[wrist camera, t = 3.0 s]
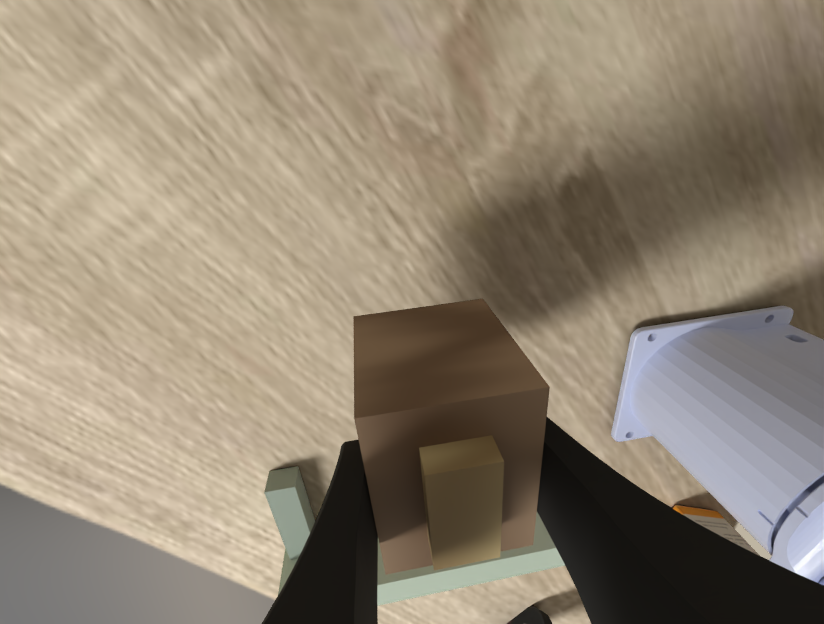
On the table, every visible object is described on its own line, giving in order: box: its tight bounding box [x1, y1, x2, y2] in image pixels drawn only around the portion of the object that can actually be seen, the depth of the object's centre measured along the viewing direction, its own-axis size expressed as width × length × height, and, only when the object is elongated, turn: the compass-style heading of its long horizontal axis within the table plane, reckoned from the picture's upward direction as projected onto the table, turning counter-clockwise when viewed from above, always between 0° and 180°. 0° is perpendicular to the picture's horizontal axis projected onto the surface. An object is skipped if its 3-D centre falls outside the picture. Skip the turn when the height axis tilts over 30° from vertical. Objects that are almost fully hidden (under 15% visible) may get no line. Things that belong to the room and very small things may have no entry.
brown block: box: [354, 299, 549, 575], centre depth 12 cm, size 4×6×6 cm
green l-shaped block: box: [264, 466, 565, 606], centre depth 22 cm, size 17×8×4 cm, turn 95°
